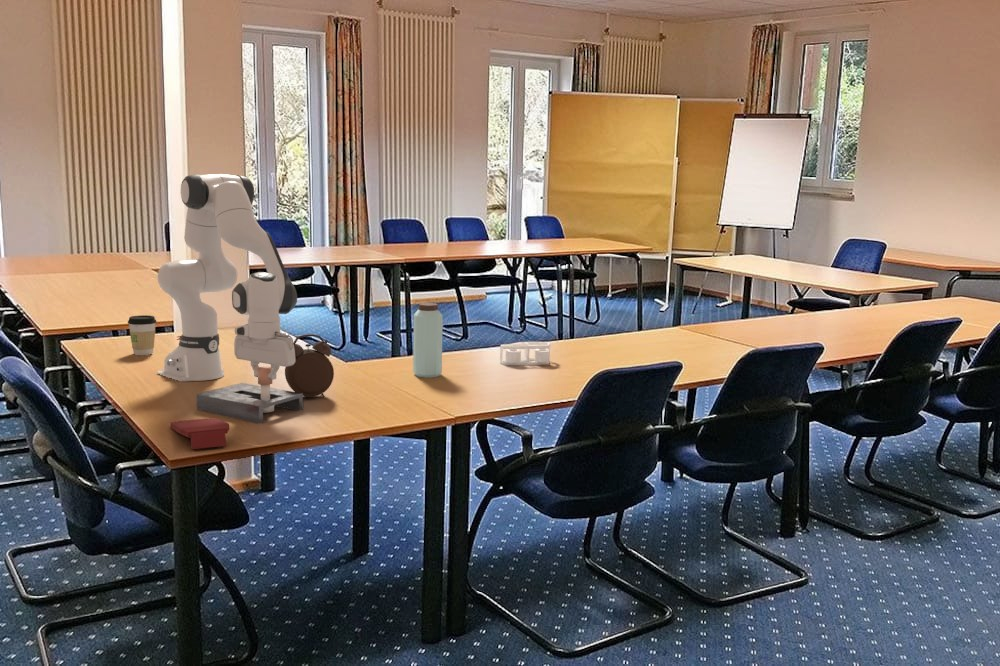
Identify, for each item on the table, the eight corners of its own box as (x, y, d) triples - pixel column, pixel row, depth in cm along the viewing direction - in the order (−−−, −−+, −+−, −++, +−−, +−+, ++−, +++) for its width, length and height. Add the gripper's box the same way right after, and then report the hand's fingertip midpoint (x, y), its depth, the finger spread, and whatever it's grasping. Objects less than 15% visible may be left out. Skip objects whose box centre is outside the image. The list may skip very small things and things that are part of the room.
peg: (265, 407, 270) (264, 365, 268) (277, 409, 268) (277, 367, 265) (253, 410, 266) (252, 368, 263) (266, 413, 263) (265, 370, 261)
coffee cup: (136, 354, 343) (134, 314, 340) (162, 355, 343) (160, 315, 340) (124, 360, 333) (122, 318, 331) (151, 360, 333) (149, 319, 330)
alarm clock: (329, 393, 292) (328, 331, 289) (335, 399, 286) (334, 335, 282) (282, 397, 286) (281, 333, 283) (287, 402, 280) (286, 337, 276)
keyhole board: (259, 423, 256) (258, 406, 255) (196, 410, 268) (196, 394, 267) (302, 410, 272) (302, 393, 271) (242, 398, 283) (241, 382, 282)
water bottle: (439, 379, 316) (441, 306, 312) (410, 378, 317) (411, 305, 313) (443, 372, 326) (444, 302, 322) (415, 371, 327) (416, 301, 322)
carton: (170, 439, 251) (184, 450, 229) (169, 421, 251) (182, 430, 229) (216, 435, 257) (234, 444, 234) (215, 417, 256) (232, 425, 234)
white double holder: (502, 367, 339) (503, 347, 337) (496, 361, 349) (497, 342, 348) (555, 366, 343) (556, 347, 342) (547, 360, 354) (548, 341, 352)
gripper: (300, 332, 260) (300, 380, 263) (246, 325, 270) (246, 371, 272) (284, 335, 255) (285, 384, 257) (230, 328, 265) (231, 375, 267)
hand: (265, 377), depth 265 cm, fingers closed on peg, 4 cm apart
